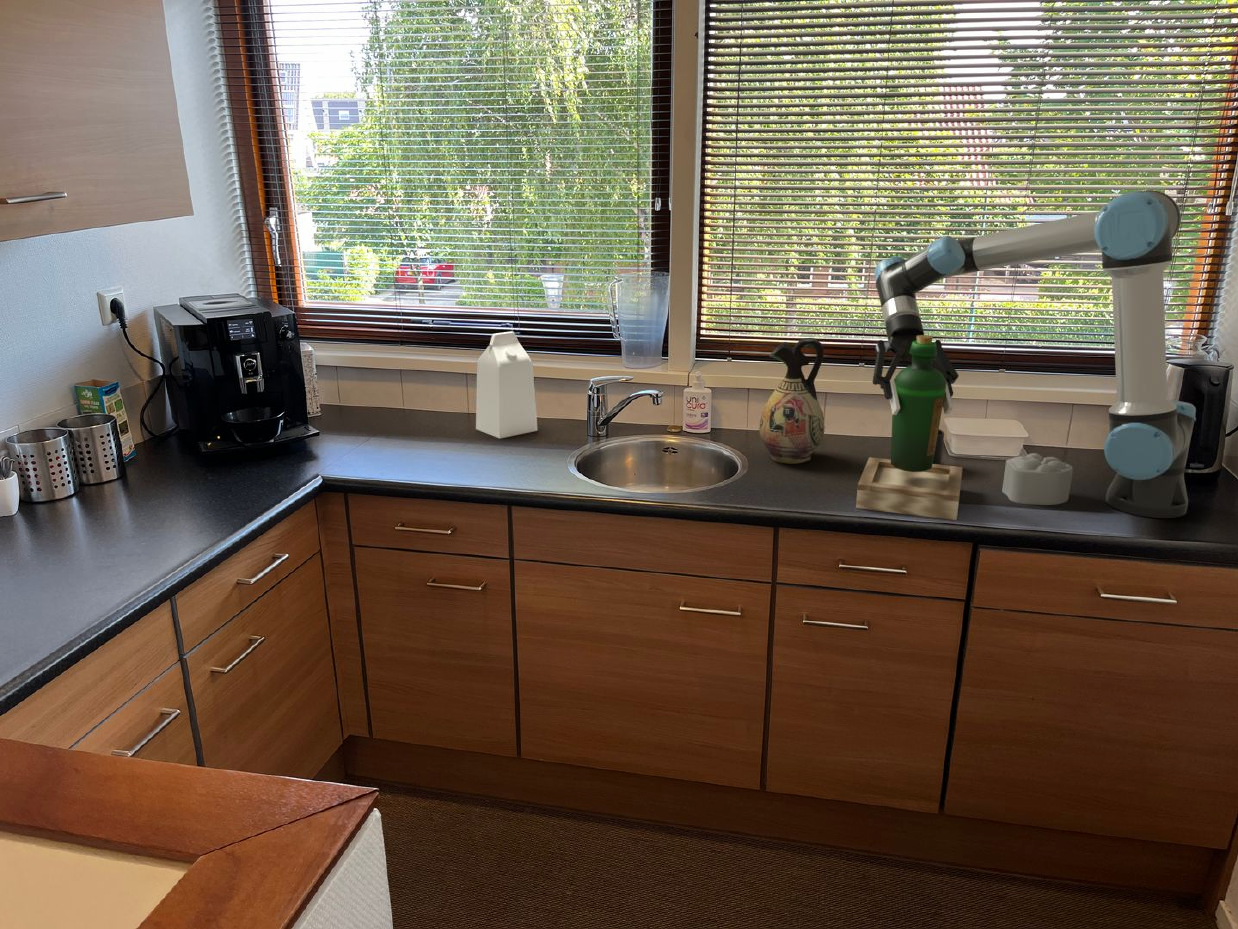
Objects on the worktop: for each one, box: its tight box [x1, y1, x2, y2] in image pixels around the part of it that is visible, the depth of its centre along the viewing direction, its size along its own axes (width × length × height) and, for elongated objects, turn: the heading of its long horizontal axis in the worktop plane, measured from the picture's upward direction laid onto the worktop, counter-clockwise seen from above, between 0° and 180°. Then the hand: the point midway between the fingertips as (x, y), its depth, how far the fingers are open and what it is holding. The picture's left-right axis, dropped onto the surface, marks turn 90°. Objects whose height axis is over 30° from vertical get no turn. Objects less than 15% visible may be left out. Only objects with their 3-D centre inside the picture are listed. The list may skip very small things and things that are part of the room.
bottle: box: [890, 334, 947, 472], centre depth 201 cm, size 11×11×28 cm
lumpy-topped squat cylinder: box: [1001, 452, 1074, 506], centre depth 207 cm, size 10×13×9 cm
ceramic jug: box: [758, 337, 825, 465], centre depth 229 cm, size 17×15×30 cm
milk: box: [475, 331, 538, 439], centre depth 253 cm, size 12×12×26 cm
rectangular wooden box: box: [855, 456, 964, 521], centre depth 206 cm, size 20×20×5 cm
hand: (922, 411), depth 198 cm, fingers closed on bottle, 10 cm apart
